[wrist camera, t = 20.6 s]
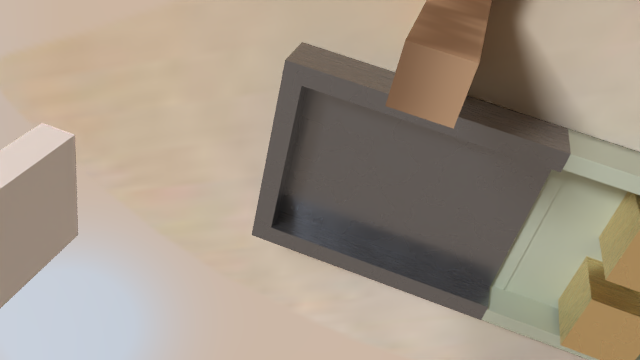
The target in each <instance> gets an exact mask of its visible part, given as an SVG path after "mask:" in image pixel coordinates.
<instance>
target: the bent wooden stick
mask: <svg viewBox="0 0 640 360" xmlns="http://www.w3.org/2000/svg"><path fill="white" fill-rule="evenodd" d="M491 3H492V0H427V1H426V3H425V5H424V7H423V8H422V10H421V12H420V14H419V16H418V18H417V20H416V22H415V23H414V25H413V27H412V29H411V31H410V33H409V35H408V37H407V38H406V40H405V44H404V47H403V50H402V53H401V57H400V60H399V63H398V66H397V69H396V73H395V76H394V79H393V82H392V86H391V89H390V92H389V95H388V99H387V102H386V105H385V106H387V107H390V108H393V109H396V110H399V111H402V112H405V113H408V114H411V115H414V116H417V117H420V118H423V119H426V120H429V121H432V122H435V123H438V124H441V125H444V126H447V127H450V128H453V129H454V126H455V124H456V121H457V119H458V116H459V113H460V111H461V108H462V106H463V103H464V101H465V98H466V96H467V93H468V91H469V88H470V86H471V83H472V80H473V78H474V75H475V73H476V70H477V68H478V65H479V62H480V57H481V52H482V47H483V42H484V37H485V32H486V27H487V22H488V18H489V13H490V8H491Z"/></svg>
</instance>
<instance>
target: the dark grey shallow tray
mask: <svg viewBox="0 0 640 360" xmlns="http://www.w3.org/2000/svg"><path fill="white" fill-rule="evenodd" d="M394 76H395V72H392V71H389V70H386V69H383V68H379V67H376V66H373V65H370V64H367V63H364V62H361V61H358V60H355V59H352V58H349V57H346V56H343V55H339V54H336V53H333V52H330V51H327V50H324V49H321V48H318V47H315V46H312V45H309V44H306V43H301V44H300V45H299V46H298V47H297V48H296V49H295V50H294V51H293V52H292V54H291V55H290V56H289V57H288V58H287V59H286V60H285V65H284V70H283V75H282V80H281V86H280V91H279V96H278V101H277V106H276V112H275V117H274V122H273V127H272V132H271V138H270V143H269V148H268V153H267V158H266V164H265V169H264V174H263V179H262V184H261V190H260V195H259V200H258V205H257V210H256V216H255V221H254V226H253V231H252V235H253V236H256V237H259V238H262V239H264V240H267V241H270V242H272V243H275V244H278V245H280V246H283V247H286V248H289V249H291V250H294V251H297V252H299V253H302V254H305V255H307V256H310V257H313V258H316V259H318V260H321V261H324V262H326V263H329V264H332V265H334V266H337V267H340V268H343V269H345V270H348V271H351V272H353V273H356V274H359V275H361V276H364V277H367V278H370V279H372V280H375V281H378V282H380V283H383V284H386V285H388V286H391V287H394V288H396V289H399V290H402V291H405V292H407V293H410V294H413V295H415V296H418V297H421V298H423V299H426V300H429V301H432V302H434V303H437V304H440V305H442V306H445V307H448V308H450V309H453V310H456V311H459V312H461V313H464V314H467V315H469V316H472V317H475V318H477V319H480V320H482V318H483V316H484V314H485V312H486V310H487V308H488V303H489V291H490V286H491V284H492V282H493V280H494V278H495V276H496V274H497V272H498V270H499V268H500V267H501V265H502V263H503V261H504V259H505V257H506V255H507V253H508V251H509V250H510V248H511V246H512V244H513V242H514V240H515V238H516V236H517V234H518V232H519V231H520V229H521V227H522V225H523V223H524V221H525V219H526V217H527V215H528V213H529V212H530V210H531V208H532V206H533V204H534V202H535V200H536V198H537V196H538V195H539V193H540V191H541V189H542V187H543V185H544V183H545V181H546V179H547V177H548V176H549V174H550V172H551V170H555V171H558V172H561V171H562V170H563V168H564V166H565V164H566V162H567V160H568V158H569V157H570V155H571V151H570V142H569V133H568V129H567V128H564V127H561V126H558V125H555V124H552V123H549V122H546V121H543V120H540V119H536V118H533V117H530V116H527V115H524V114H521V113H518V112H515V111H512V110H509V109H506V108H503V107H500V106H496V105H493V104H490V103H487V102H484V101H481V100H478V99H475V98H472V97H469V96H466V98H465V101H464V103H463V106H462V108H461V111H460V113H459V116H458V119H457V121H456V124H455V126H454V129H453V128H450V127H447V126H444V125H441V124H438V123H435V122H432V121H429V120H426V119H423V118H420V117H417V116H414V115H411V114H408V113H405V112H402V111H399V110H396V109H393V108H390V107H387V106H385V105H386V102H387V99H388V95H389V92H390V89H391V86H392V82H393V79H394Z"/></svg>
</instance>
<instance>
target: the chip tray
mask: <svg viewBox="0 0 640 360" xmlns="http://www.w3.org/2000/svg"><path fill="white" fill-rule="evenodd" d="M568 133H569V142H570V151H571V155H570V157H569V158H568V160H567V162H566V164H565V166H564V168H563V170H562V171H561V172H558V171H555V170H551V172H550V174H549V176H548V177H547V179H546V181H545V183H544V185H543V187H542V189H541V191H540V193H539V195H538V196H537V198H536V200H535V202H534V204H533V206H532V208H531V210H530V212H529V213H528V215H527V217H526V219H525V221H524V223H523V225H522V227H521V229H520V231H519V232H518V234H517V236H516V238H515V240H514V242H513V244H512V246H511V248H510V250H509V251H508V253H507V255H506V257H505V259H504V261H503V263H502V265H501V267H500V268H499V270H498V272H497V274H496V276H495V278H494V280H493V282H492V284H491V286H490V291H489V303H488V308H487V310H486V312H485V314H484V316H483V318H482V320H483V321H486V322H488V323H491V324H494V325H496V326H499V327H502V328H504V329H507V330H510V331H513V332H515V333H518V334H521V335H523V336H526V337H529V338H531V339H534V340H537V341H540V342H542V343H545V344H548V345H550V346H553V347H556V348H558V349H561V350H564V351H567V352H569V353H572V354H575V355H577V356H580V357H583V358H585V359H588V360H599V359H596V358H593V357H591V356H588V355H585V354H583V353H580V352H577V351H575V350H572V349H569V348H567V347H564V346H561V345H560V329H559V310H558V300H559V298H560V297H561V295H562V293H563V292H564V290H565V289H566V287H567V286H568V284H569V282H570V281H571V279H572V278H573V276H574V275H575V273H576V272H577V270H578V268H579V267H580V265H581V264H582V262H583V261H584V259H585V258H586V256H588V257H590V258H593V259H596V260H599V261H602V254H601V248H600V242H599V236H600V235H601V233H602V232H603V230H604V228H605V227H606V225H607V224H608V222H609V220H610V219H611V217H612V216H613V214H614V213H615V211H616V209H617V208H618V206H619V205H620V203H621V201H622V200H623V198H624V197H625V195H626V194H627V192H628V191H629V192H632V193H635V194H638V195H640V152H638V151H635V150H632V149H629V148H626V147H623V146H620V145H617V144H613V143H610V142H607V141H604V140H601V139H598V138H595V137H592V136H589V135H586V134H583V133H580V132H576V131H573V130H570V129H568ZM602 262H603V261H602ZM635 360H640V355H639V356H638V357H637V358H636V359H635Z"/></svg>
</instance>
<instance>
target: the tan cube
mask: <svg viewBox="0 0 640 360" xmlns="http://www.w3.org/2000/svg"><path fill="white" fill-rule="evenodd" d="M558 310H559V329H560V345H561V346H564V347H567V348H569V349H572V350H575V351H577V352H580V353H583V354H585V355H588V356H591V357H593V358H596V359H599V360H635V359H636V358H637V357H638V356H639V355H640V292H638V291H635V290H632V289H629V288H626V287H623V286H621V285H618V284H615V283H612V282H609V281H606V280H605V274H604V267H603V262H602V261H599V260H596V259H593V258H590V257H588V256H586V258H585V259H584V261H583V262H582V264H581V265H580V267H579V268H578V270H577V272H576V273H575V275H574V276H573V278H572V279H571V281H570V282H569V284H568V286H567V287H566V289H565V290H564V292H563V293H562V295H561V297H560V298H559V300H558Z"/></svg>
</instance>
